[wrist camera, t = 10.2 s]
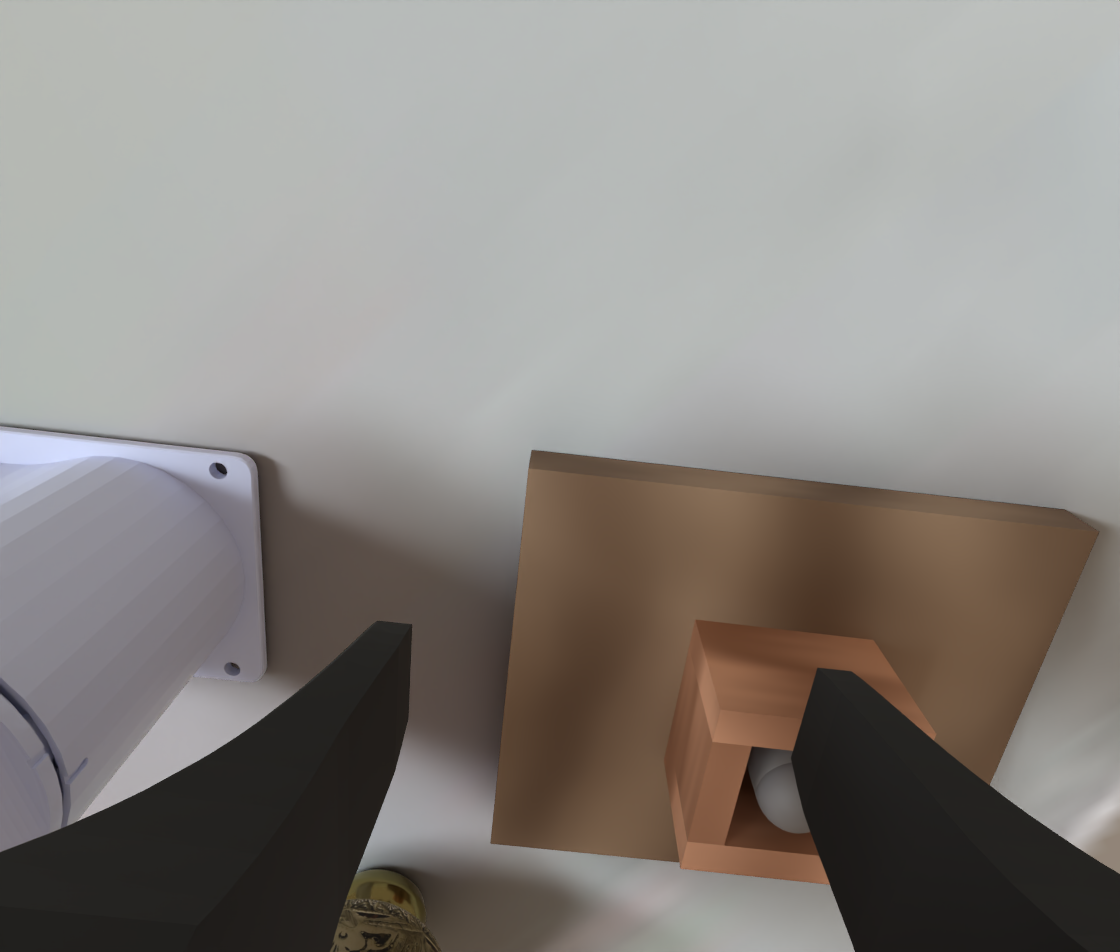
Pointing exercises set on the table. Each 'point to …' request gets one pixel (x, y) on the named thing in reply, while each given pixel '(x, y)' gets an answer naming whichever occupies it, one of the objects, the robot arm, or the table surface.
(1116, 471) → the table surface
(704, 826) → the hollow wooden block
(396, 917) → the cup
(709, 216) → the table surface
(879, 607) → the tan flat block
